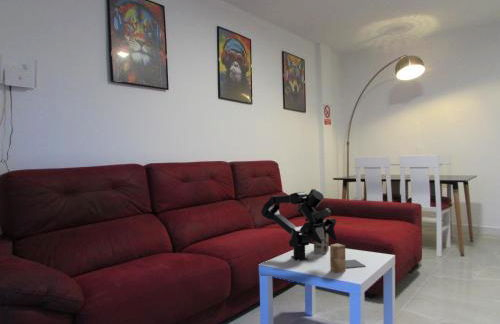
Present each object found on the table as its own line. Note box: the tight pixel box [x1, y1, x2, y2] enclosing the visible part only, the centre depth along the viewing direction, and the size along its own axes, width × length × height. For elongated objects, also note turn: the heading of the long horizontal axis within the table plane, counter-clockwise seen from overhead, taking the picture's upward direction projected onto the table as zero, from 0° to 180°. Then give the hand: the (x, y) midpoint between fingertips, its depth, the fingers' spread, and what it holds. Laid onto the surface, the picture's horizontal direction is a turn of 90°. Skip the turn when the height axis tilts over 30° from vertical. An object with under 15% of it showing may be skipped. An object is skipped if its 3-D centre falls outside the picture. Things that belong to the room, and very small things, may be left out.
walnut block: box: [329, 243, 347, 274], centre depth 154 cm, size 4×4×11 cm
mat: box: [345, 259, 366, 269], centre depth 163 cm, size 10×10×1 cm
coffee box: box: [313, 219, 330, 255], centre depth 185 cm, size 9×6×16 cm
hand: (328, 241), depth 158 cm, fingers open, 9 cm apart
